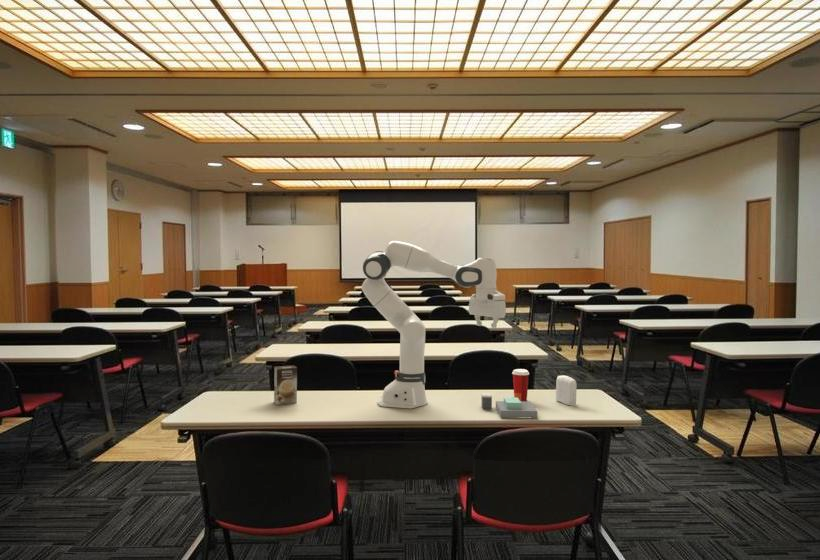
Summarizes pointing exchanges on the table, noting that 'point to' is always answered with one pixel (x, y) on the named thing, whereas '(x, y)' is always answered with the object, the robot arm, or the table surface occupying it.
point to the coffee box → (285, 385)
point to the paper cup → (520, 383)
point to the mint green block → (512, 403)
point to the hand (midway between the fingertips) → (486, 326)
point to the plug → (486, 401)
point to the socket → (516, 410)
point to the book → (566, 390)
